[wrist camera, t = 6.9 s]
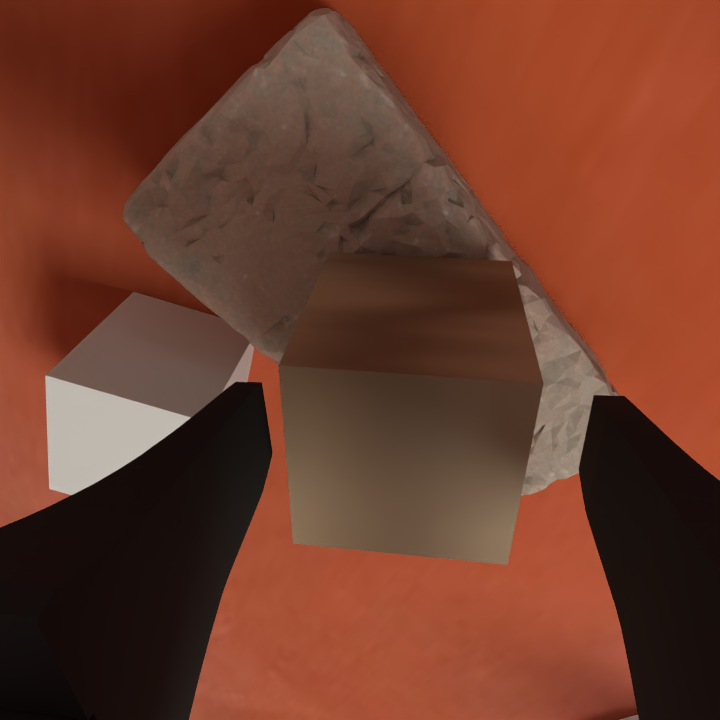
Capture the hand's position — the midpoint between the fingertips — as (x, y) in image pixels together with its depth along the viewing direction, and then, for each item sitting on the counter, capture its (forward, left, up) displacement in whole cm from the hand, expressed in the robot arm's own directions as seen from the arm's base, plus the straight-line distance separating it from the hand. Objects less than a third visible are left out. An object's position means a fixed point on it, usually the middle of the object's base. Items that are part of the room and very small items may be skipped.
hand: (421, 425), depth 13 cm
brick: (+1, +1, -10) cm, 10 cm away
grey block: (+8, +7, -9) cm, 14 cm away
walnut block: (0, +1, -5) cm, 5 cm away
